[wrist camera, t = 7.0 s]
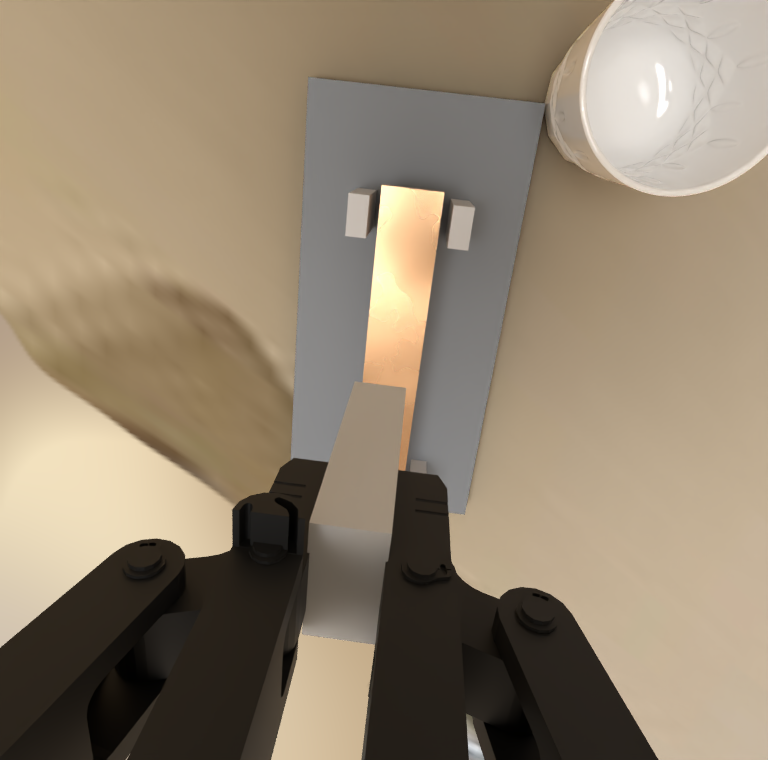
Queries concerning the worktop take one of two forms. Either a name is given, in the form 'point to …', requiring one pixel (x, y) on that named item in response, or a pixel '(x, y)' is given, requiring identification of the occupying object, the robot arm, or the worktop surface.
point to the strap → (402, 292)
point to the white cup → (665, 94)
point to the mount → (452, 262)
